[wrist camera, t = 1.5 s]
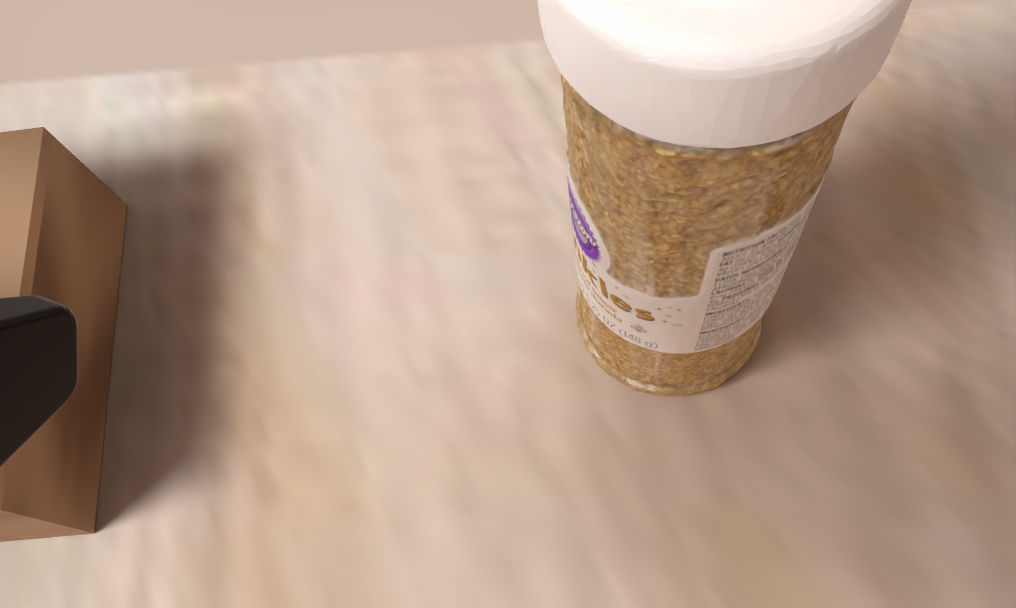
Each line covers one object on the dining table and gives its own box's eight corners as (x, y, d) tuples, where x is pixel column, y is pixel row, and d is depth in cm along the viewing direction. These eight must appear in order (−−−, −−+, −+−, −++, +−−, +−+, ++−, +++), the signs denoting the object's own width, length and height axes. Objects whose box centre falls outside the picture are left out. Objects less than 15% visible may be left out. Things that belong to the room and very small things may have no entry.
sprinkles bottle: (541, 295, 23) (450, -133, 11) (687, 199, 24) (761, -318, 11) (651, 441, 21) (694, 133, 9) (805, 334, 22) (1043, -96, 10)
